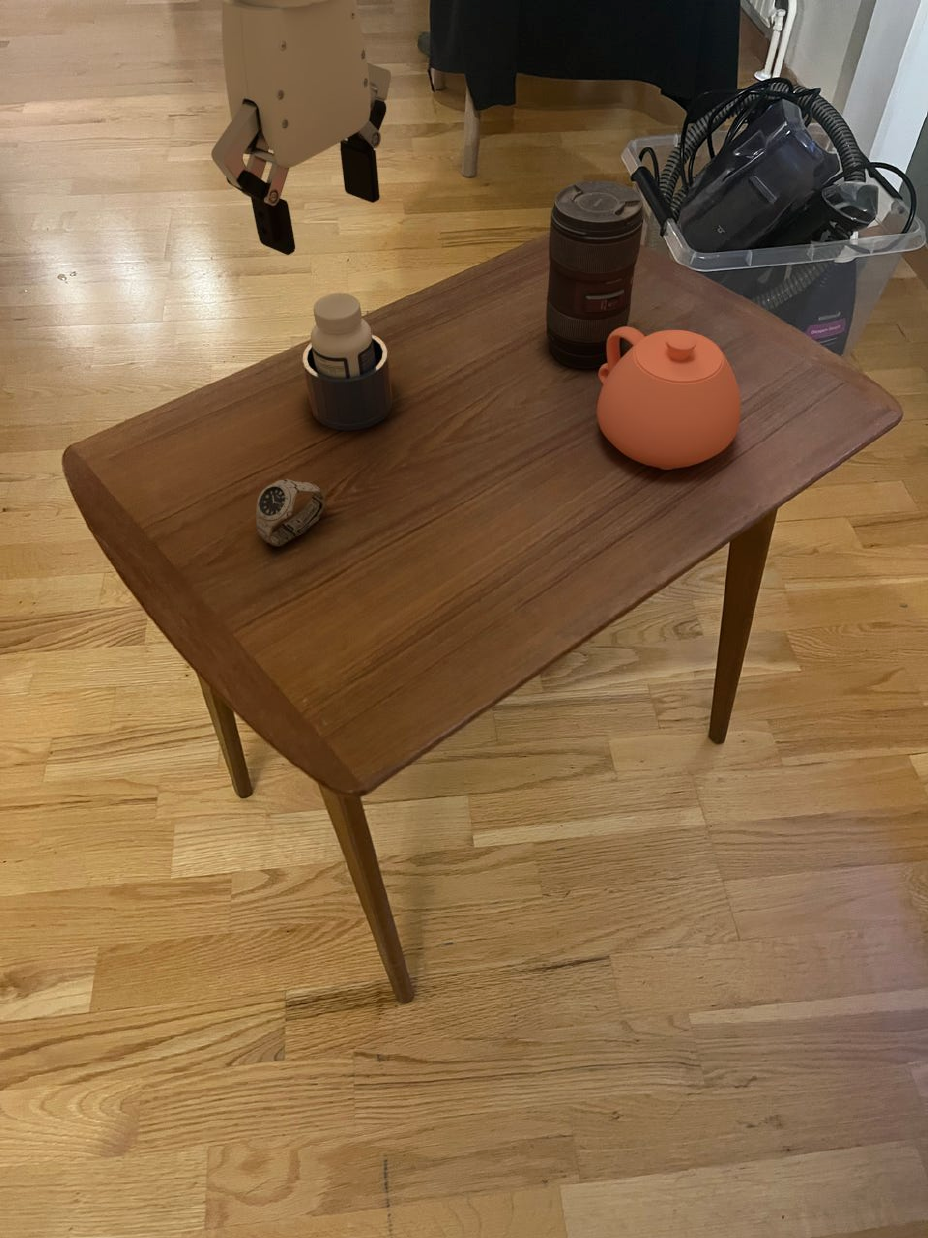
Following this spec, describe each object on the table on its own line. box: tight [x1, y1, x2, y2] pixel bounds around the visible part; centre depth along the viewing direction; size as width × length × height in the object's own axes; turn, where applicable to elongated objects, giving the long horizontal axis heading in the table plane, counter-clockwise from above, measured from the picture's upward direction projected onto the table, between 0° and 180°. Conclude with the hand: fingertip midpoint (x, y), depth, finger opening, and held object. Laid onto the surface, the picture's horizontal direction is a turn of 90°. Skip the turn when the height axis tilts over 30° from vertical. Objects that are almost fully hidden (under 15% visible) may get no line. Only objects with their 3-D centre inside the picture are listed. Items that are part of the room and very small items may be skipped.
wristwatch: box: [255, 478, 326, 547], centre depth 74 cm, size 4×6×5 cm, turn 135°
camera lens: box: [545, 180, 645, 369], centre depth 84 cm, size 8×8×15 cm
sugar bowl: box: [596, 325, 742, 471], centre depth 78 cm, size 12×14×10 cm
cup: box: [301, 334, 394, 432], centre depth 83 cm, size 8×8×6 cm
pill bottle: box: [310, 292, 376, 378], centre depth 81 cm, size 5×5×10 cm
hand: (321, 221), depth 71 cm, fingers open, 9 cm apart
